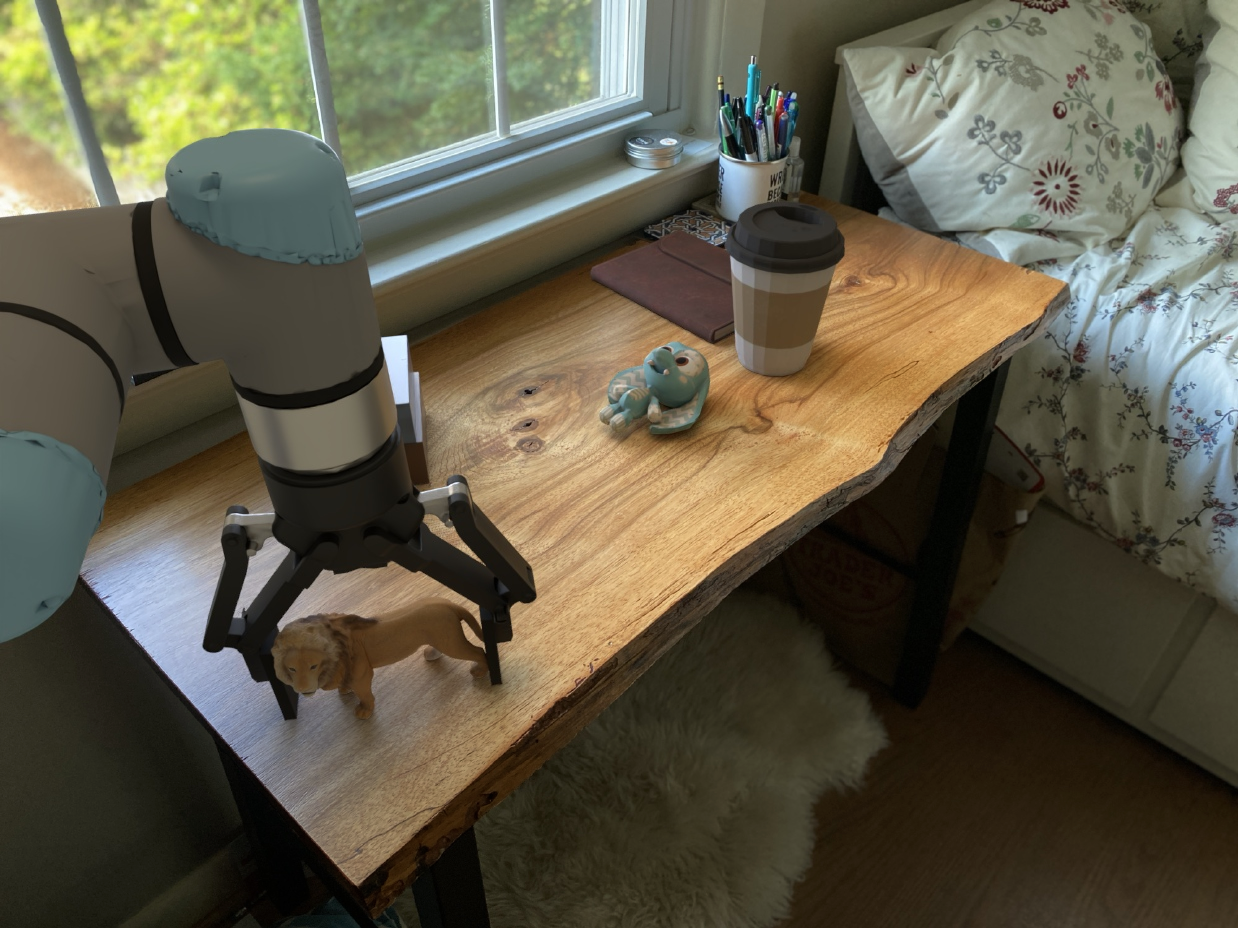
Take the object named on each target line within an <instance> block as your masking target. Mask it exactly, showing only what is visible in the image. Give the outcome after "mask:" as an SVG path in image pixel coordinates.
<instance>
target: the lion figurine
mask: <svg viewBox="0 0 1238 928" xmlns="http://www.w3.org/2000/svg"><path fill="white" fill-rule="evenodd" d="M462 621H464V622H465V623H466V624H467V626H468V627H469V629H471V631H472V632H473V633H474V635H475V636H476V637H477V638H478V640H479V641H480V642H481V643H484V639H483V633H482V627H481V624H480V623H479V621H478V620H477V618H476V617H475V615H473V613H471V611H470V610H468V609H467V608H466V607H464V606H463V605H462V604H458V603H456V602H453V601H451V600H450V599H449V598H446V597H440V596H424V597H422V598H419V599H417V600H415V601H413V602H411V603H409V604H406V605H404V606H402V607H400V608H397V609H393V610H390V611H388V612H383V613H379V614H376V615H372V616H369V617H364V616H360V615H358V614H355V613H349V614H347V613H345V612H340V613H338V612H331V613H328V612H325V613H322V612H318V613H317V614H309V615H307V616H306V617H299V618H297V619H295V620H293V621H290V622H288V623H286V624H285V625H284V627H283V628H282V629H281V630H280V632H279V633H278V636H277V637H276V638H275V641H274V647H273V648H272V649H271V652H272V655H273V657H274V668H275V671H276V676H277V678H278V679H280V680H281V681H282V682H284V683H285V684H287V685H291V686H292V687H293V689H294V691H295V692H297V693H299V694H301V695H302V696H303V697H305V698H311V697H312V696H314V695H315V694H316V692H317V690H319V689H320V690H322V691H324V692H329V691H333V690H336V689H337V690H338V692H339V693H340V694H341V695H344V694H345V695H346V694H349V693H352V692H353V693H354V695H355V696H356V697H357V699H358V700H359V703H357V704H356V705H355V707H354V713H353V714H354V716H355V717H357V718H358V719H359V720H360V719H361V720H368V719H369V718H370V717H371V716H372V715H373V713H374V711H375V708H376V702H375V701H376V697H375V695H374V694H373V693H374V692H373V689H372V686H373V679H374V676H375V672H374V669H380V668H383V667H387V666H391V665H393V664H396V663H398V662H401V661H403V660H405V659H407V658H409V657H411V656H413V654H415V653H416V652H417V651H418V650H419V649H420V648H421V647H422V646H427V647H425V648H424V649H423V658H424V659H425V660H427V661H434V660H435V661H436V660H437V659H439V658H440V657H441V656H442V655H444V656H447V658H448V657H449V658H451V659H454V660H460V661H469V662H474V663H472V665H471V666H470V669H469V673H470V675H472V676H473V677H474V678H477V679H481V678H484V677H485V676H487V675H488V674H489V670H488V663H487V657H486V651H485V648H484V647H482V646H479V645H475V644H473V643H472V642H471V641H470V640H469V639H468V638H467V636H466V635H465V632H464V629H463V628H464V627H463V624H462Z"/></svg>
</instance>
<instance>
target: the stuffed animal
mask: <svg viewBox="0 0 1238 928" xmlns="http://www.w3.org/2000/svg"><path fill="white" fill-rule="evenodd" d="M710 376H711V375H710V367H709V362H708V360H707V359H706V357H705V356H704V355H703V354H702V353H701V352H700V351H698V350H697V349H695V348H692V347H691V346H688V345H686V344H684V343H682V342H680V341H673V340H672V341H670V342H668V343H667V344H664V345H661V346H658V347H655V348H653V349H652V350H651V351H650V352H649V353H648V354H647V355H646V356H645V358H644V359H643V364H641V365H637V366H631V367H628V368H626V369H623V370H621V371H619V372H617V373H616V374H615V375H614V377H612V379H611V380H610V381H609V383H608V388H607V391H606V395H607V399H608V403H609V404H607V405H606V406H604V407H602V408H601V409H600V410H599V412H598V418H599V420H600V422H601V423H602V424H604V425H606V426H608V425H609V426H610V429H611V430H612V431H613V432H616V433H619V434H620V433H621V432H624V431H625V430H626V429H627V428H628V427H629V425H630V424H631V423H632V421H633V420H638V419H642V418H643V417H645V416H646V415H647V419H648V420H649V422H650V423H651V424H650V426H649V433H650V434H651V435H671V434H674V433H679V432H681V431H685V430H686V431H687V430H689V429H691V428H692V427H693V426H694V424H695V423H696V422H697V421H698V419H699V418H700V414H701V412H702V408H703V406H704V404H705V402H706V400H707V397H708V395H709V393H710V387H711V377H710ZM660 404H661V405H663V406H666V407H668V408H671V409H667V410H664V411H662V410H661V406H660Z"/></svg>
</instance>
